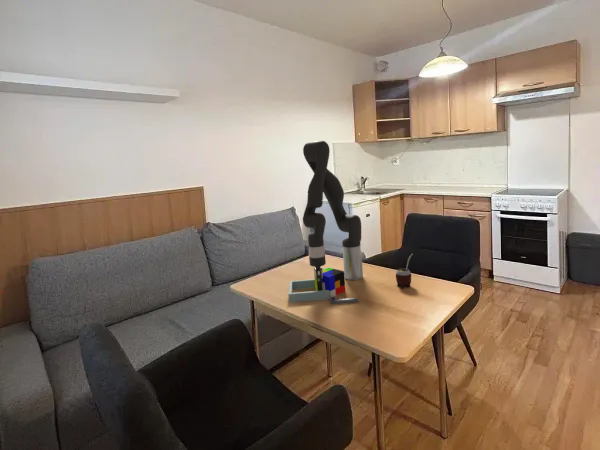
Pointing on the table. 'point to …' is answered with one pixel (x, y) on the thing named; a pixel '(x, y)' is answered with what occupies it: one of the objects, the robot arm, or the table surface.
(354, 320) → the table surface
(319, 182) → the robot arm
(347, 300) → the crook tool
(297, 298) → the grey-blue flat square frame
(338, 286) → the puzzle toy
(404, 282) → the mate gourd
